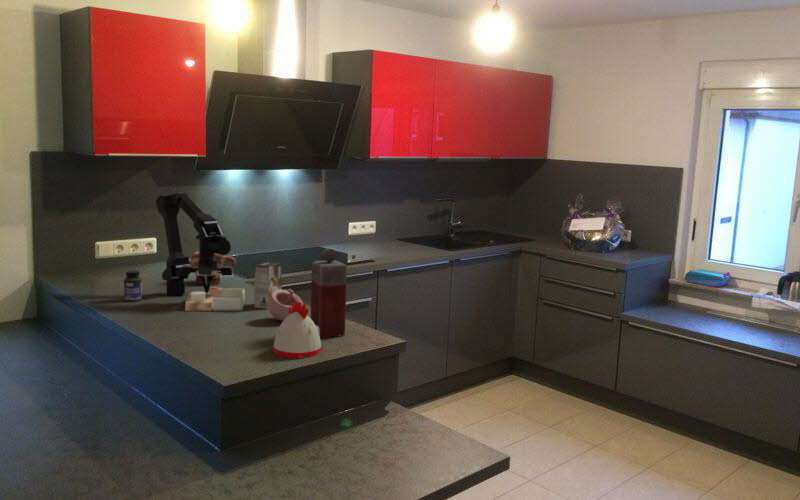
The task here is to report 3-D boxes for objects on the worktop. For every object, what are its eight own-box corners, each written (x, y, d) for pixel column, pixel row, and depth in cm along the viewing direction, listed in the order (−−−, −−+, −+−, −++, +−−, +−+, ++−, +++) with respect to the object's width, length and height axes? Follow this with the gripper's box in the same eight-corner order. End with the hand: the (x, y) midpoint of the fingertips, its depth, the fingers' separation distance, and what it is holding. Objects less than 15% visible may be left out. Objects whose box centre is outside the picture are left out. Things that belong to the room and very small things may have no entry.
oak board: (185, 310, 244) (185, 302, 244) (190, 300, 260) (190, 292, 260) (211, 310, 246) (211, 302, 245) (215, 300, 262) (215, 292, 262)
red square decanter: (333, 327, 230) (335, 245, 226) (345, 335, 220) (347, 250, 216) (307, 329, 226) (309, 245, 222) (318, 338, 216) (320, 250, 212)
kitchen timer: (294, 361, 192) (294, 309, 190) (264, 350, 201) (264, 300, 199) (330, 351, 202) (331, 302, 200) (300, 341, 211) (301, 294, 209)
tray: (212, 310, 246) (212, 298, 245) (216, 300, 262) (216, 288, 262) (242, 310, 248) (242, 298, 247) (244, 300, 264) (244, 288, 264)
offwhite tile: (191, 301, 246) (191, 294, 246) (192, 298, 250) (192, 291, 250) (204, 301, 247) (204, 294, 247) (205, 298, 251) (205, 291, 251)
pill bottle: (125, 302, 253) (124, 273, 251) (123, 299, 258) (122, 270, 256) (142, 301, 255) (142, 272, 254) (140, 298, 261) (140, 269, 259)
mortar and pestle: (286, 326, 228) (287, 293, 226) (260, 321, 234) (260, 288, 232) (309, 320, 238) (310, 288, 236) (283, 314, 244) (284, 283, 242)
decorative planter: (235, 280, 302) (235, 249, 300) (236, 285, 290) (236, 253, 288) (188, 280, 297) (188, 249, 295) (187, 286, 285) (186, 253, 283)
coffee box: (267, 302, 262) (267, 261, 259) (281, 304, 259) (282, 263, 257) (253, 307, 253) (254, 264, 251) (268, 309, 251) (269, 266, 248)
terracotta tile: (209, 295, 255) (209, 289, 255) (209, 293, 259) (210, 286, 259) (221, 296, 256) (222, 290, 256) (221, 294, 260) (222, 287, 260)
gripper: (177, 254, 245) (177, 297, 247) (231, 255, 248) (230, 297, 250) (182, 250, 256) (182, 291, 258) (233, 251, 259) (232, 291, 261)
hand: (206, 292), depth 257 cm, fingers closed
